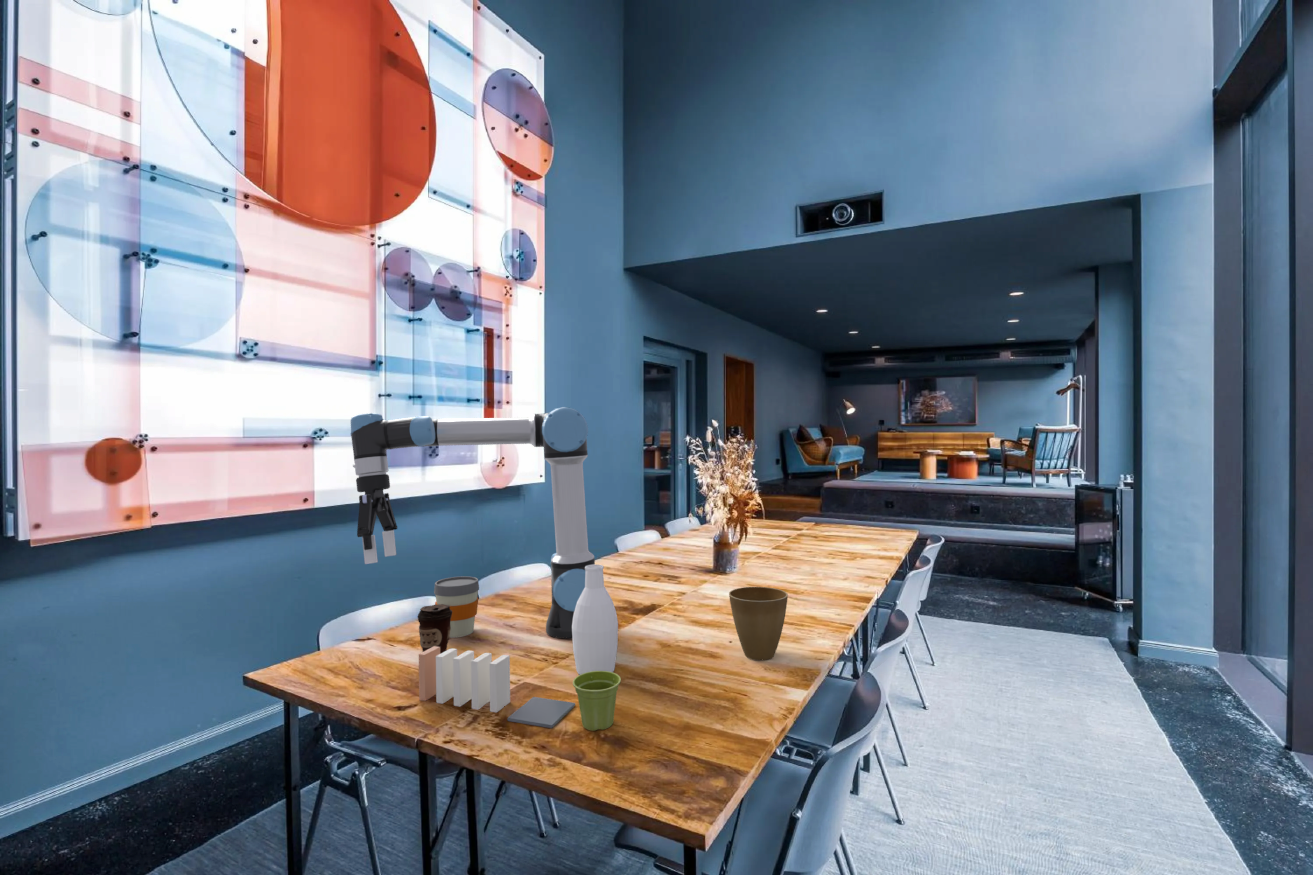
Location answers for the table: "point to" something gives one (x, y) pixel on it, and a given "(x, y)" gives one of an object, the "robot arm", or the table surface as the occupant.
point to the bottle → (594, 625)
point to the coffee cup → (434, 626)
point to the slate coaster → (541, 712)
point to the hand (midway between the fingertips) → (381, 559)
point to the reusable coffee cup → (459, 602)
